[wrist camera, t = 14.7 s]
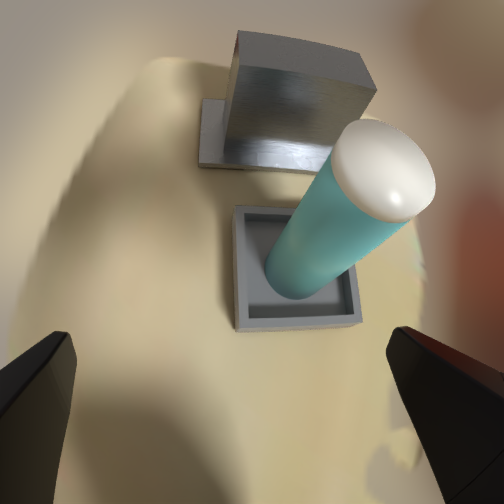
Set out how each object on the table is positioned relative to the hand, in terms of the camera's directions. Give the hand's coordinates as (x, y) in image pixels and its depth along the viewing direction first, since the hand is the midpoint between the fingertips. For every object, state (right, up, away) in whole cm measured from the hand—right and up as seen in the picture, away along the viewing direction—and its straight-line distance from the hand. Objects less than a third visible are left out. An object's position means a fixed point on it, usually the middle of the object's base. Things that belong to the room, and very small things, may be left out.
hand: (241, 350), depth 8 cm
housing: (+3, +13, +21) cm, 25 cm away
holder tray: (+3, +1, +16) cm, 16 cm away
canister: (+3, +1, +15) cm, 16 cm away
